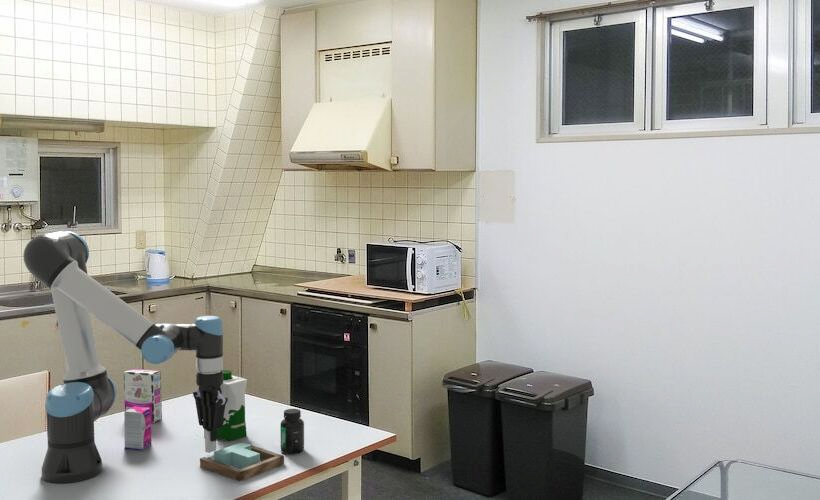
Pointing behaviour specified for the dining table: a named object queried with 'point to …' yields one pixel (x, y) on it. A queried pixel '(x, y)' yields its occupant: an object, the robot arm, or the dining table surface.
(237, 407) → the milk carton
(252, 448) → the wooden u-shaped frame
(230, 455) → the tee
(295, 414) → the supplement bottle
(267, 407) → the dining table surface
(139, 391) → the candy bar box
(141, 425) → the supplement box
